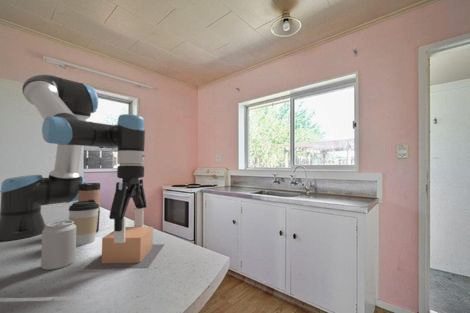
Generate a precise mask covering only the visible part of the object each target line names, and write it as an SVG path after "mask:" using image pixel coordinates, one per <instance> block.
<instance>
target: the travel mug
mask: <svg viewBox="0 0 470 313" xmlns="http://www.w3.org/2000/svg"><path fill="white" fill-rule="evenodd" d="M88 200H94V201H95V202H96V204H99V208H98V221H97V229H96V233H98V232H99V230H100V229H99V228H100V215H101V214H100V213H101V212H100V211H101V183H99V182H88V183H87V182H86V183H84V184H81V185H80V184H79V193H78V200H77V202H80V201H88Z"/></svg>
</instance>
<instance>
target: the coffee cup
mask: <svg viewBox="0 0 470 313" xmlns="http://www.w3.org/2000/svg"><path fill="white" fill-rule="evenodd" d="M98 208H99V204H96V202H95V201H94V200H88V201H80V202H78V201H74V202H72V204H71V205H69V207H68V213H69V214H68V215H69V216H68V220H71V221H74V223H73V224H75V225H76V248H78V246H85V245H89V244H92V243H94V242H95V241H96V233H97V232H96V229H97V221H98Z"/></svg>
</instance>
